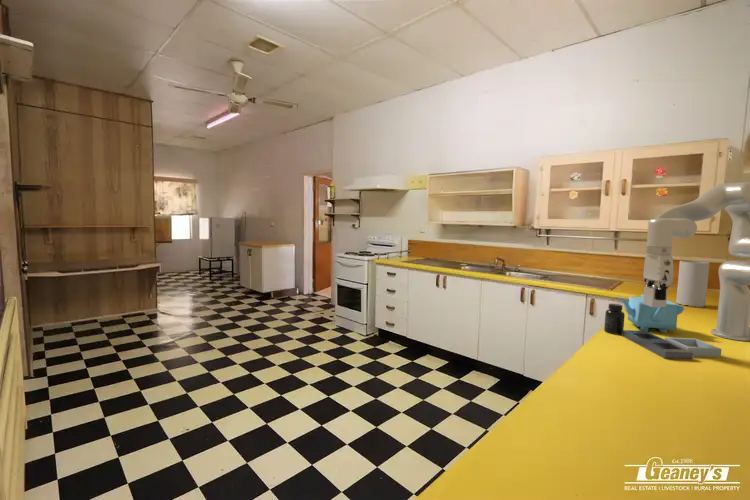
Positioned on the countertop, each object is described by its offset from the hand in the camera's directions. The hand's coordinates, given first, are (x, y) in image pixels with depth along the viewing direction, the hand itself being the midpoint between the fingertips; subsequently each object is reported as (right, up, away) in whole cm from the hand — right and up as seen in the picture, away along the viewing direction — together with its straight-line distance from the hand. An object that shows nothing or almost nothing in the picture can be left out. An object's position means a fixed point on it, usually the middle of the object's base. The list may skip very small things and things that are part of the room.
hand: (655, 297), depth 136 cm
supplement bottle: (-6, -17, +15) cm, 23 cm away
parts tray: (+9, -19, -6) cm, 21 cm away
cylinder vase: (+73, -13, +67) cm, 100 cm away
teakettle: (+14, -17, +22) cm, 30 cm away
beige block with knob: (0, -3, 0) cm, 3 cm away
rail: (-2, -18, -2) cm, 19 cm away
